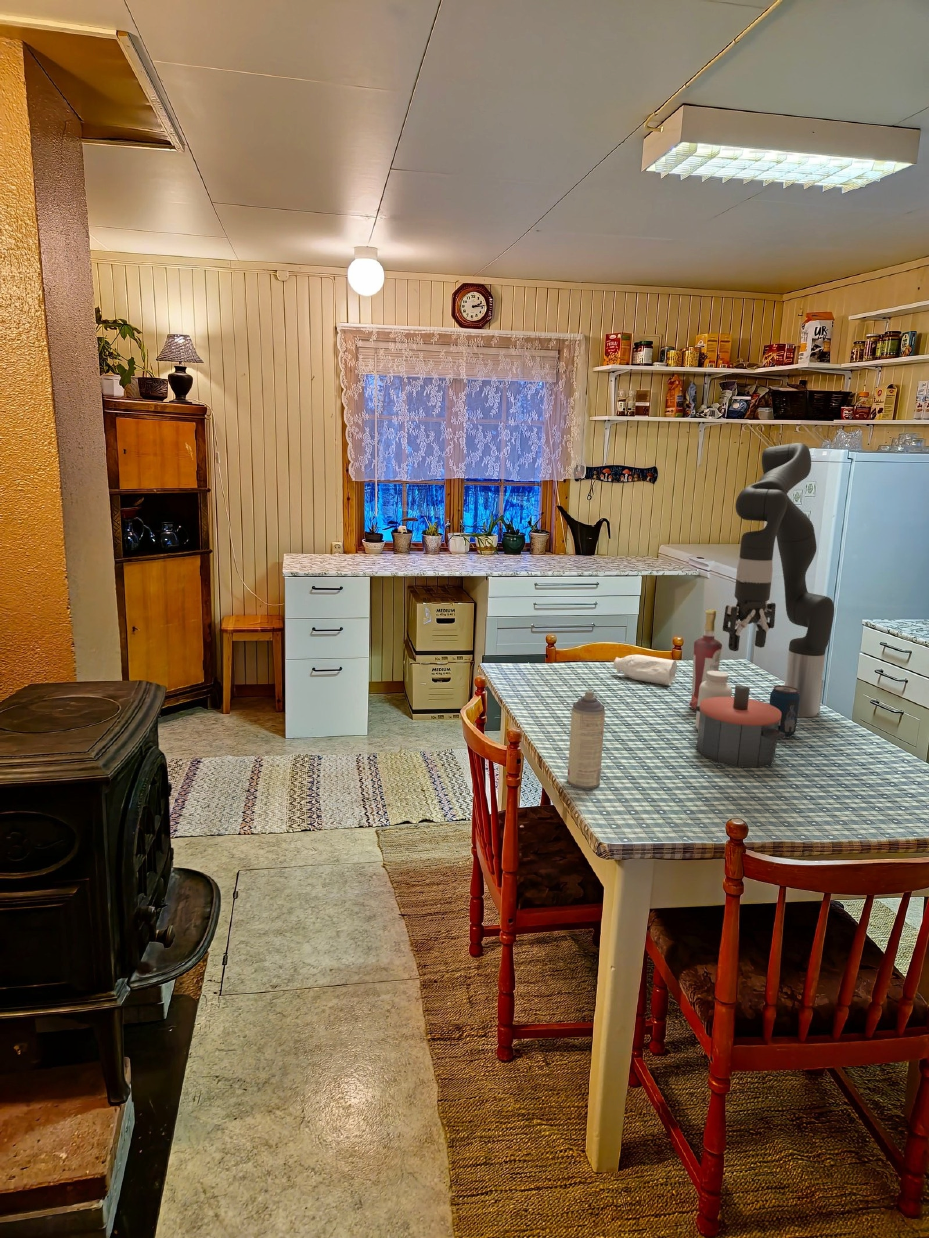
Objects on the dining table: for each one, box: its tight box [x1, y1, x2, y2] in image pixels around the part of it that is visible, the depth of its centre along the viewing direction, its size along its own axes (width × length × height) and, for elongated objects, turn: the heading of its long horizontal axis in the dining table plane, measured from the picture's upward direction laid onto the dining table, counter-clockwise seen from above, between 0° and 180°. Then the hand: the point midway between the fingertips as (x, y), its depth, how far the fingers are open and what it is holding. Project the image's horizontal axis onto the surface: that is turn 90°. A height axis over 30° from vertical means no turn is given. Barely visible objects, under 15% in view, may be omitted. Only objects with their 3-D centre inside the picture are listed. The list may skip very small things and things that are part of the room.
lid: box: [700, 685, 782, 726], centre depth 188 cm, size 18×18×7 cm
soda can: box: [768, 685, 800, 739], centre depth 204 cm, size 7×7×12 cm
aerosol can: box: [566, 690, 606, 790], centre depth 168 cm, size 7×7×20 cm
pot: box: [695, 706, 786, 769], centre depth 189 cm, size 17×23×10 cm
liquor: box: [689, 609, 723, 712], centre depth 220 cm, size 7×7×28 cm
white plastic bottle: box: [612, 654, 678, 687], centre depth 250 cm, size 8×19×8 cm, turn 58°
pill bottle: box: [694, 670, 733, 730], centre depth 205 cm, size 8×8×15 cm
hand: (746, 648), depth 185 cm, fingers open, 8 cm apart
